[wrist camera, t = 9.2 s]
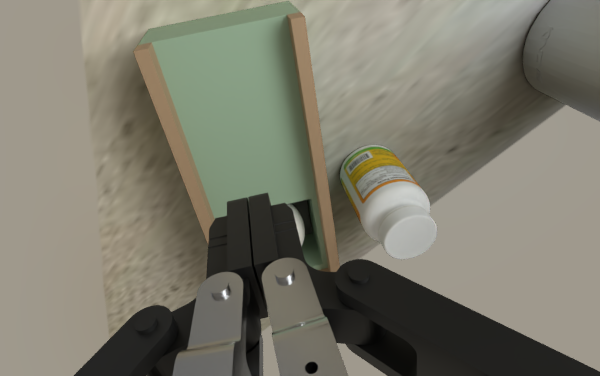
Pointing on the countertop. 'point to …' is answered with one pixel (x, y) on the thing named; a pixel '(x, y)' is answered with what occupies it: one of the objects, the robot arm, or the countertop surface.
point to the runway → (243, 116)
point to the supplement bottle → (388, 201)
